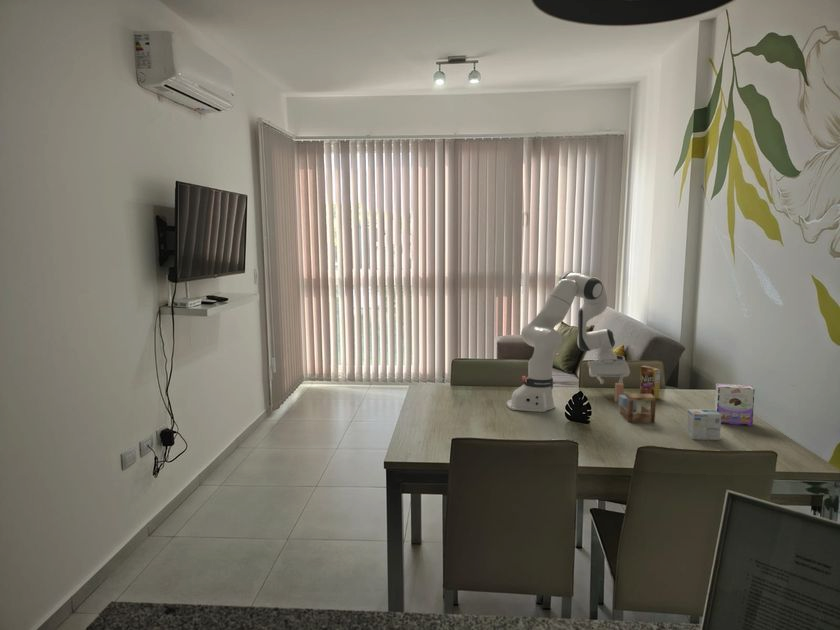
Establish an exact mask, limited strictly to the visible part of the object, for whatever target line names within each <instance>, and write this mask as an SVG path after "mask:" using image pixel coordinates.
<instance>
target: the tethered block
mask: <svg viewBox="0 0 840 630" xmlns="http://www.w3.org/2000/svg"><path fill="white" fill-rule="evenodd" d="M624 385H625V384H624V383H619V382H614V399H613V401H614V402H615V403H617V404H618V406H617V408H618V409H620V405H624V406H625V407H626V408H627V409H628V403H629V399H628V398H627V397H626V396H625V394H624V393H625V392H624V387H625V386H624ZM636 405H637V400H633V412H636V408H637V407H636Z"/></svg>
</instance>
